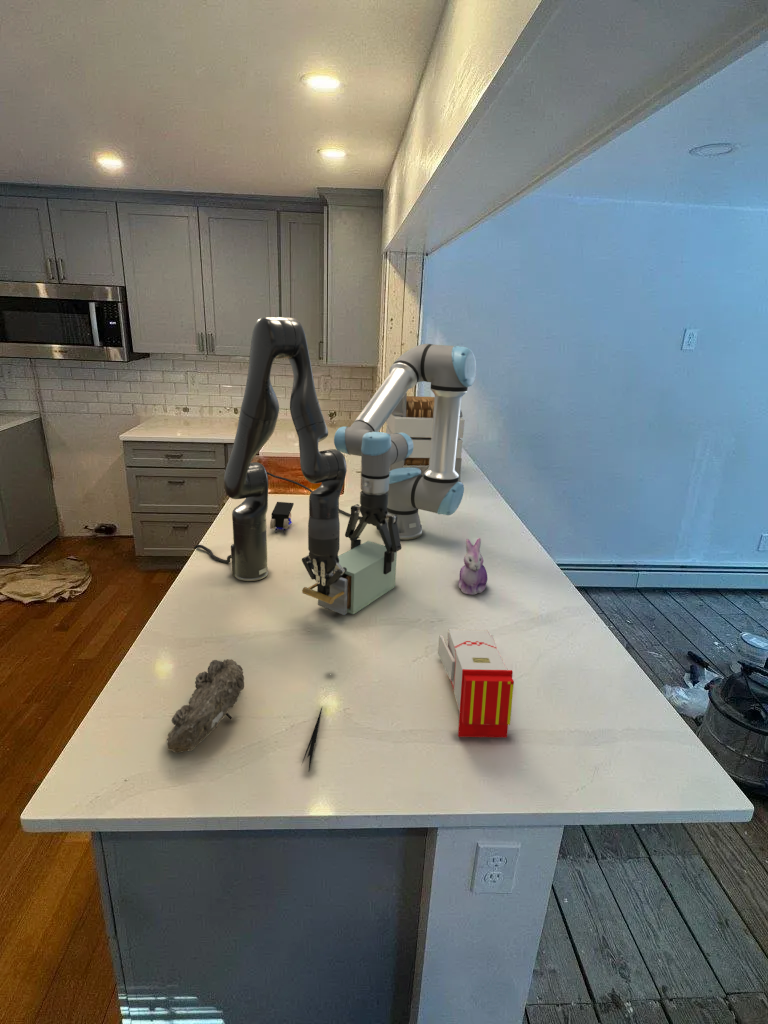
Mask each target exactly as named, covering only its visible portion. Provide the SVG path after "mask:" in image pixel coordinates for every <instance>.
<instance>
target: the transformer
mask: <svg viewBox="0 0 768 1024" xmlns="http://www.w3.org/2000/svg"><path fill="white" fill-rule="evenodd" d="M407 394H408V392H406V394H405V395H404V396H403V398H402V399H401V401H400V402H399V404H398V405H397V406H396V408H395V409H394V411H393V412H392V413H391V415H390V416H389V418H388V419H387V421H386V422H385V424H386V428H385V433H387V434H394V433H405V434H407V435H408V436H410V438H411V439H412V441H413V447H414V448H413V452H412V454H411V455H410V456H409V457H407V458H406V459H404V460H403V461H399V462H397V463H394V464H392V465H390V471H391V470H393V469H397V468H405V466H406V467H409V466H411V467H417V466H418V467H429V459H430V447H431V435H432V423H433V411H434V398H435V396H415V395H414V396H413V395H412V396H411V395H407ZM464 429H465V419H464V418H463V411H462V410H461V411H460V421H459V432H458V442H457V452H456V462H455V471H456V472H457V473H458V475H459V479H458V482H461V472H462V461H463V460H462V453H463V442H464V441H463V440H462V439H463V438H464V431H465V430H464ZM390 471H389V472H390Z"/></svg>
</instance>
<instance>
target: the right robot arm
mask: <svg viewBox="0 0 768 1024" xmlns="http://www.w3.org/2000/svg"><path fill="white" fill-rule="evenodd" d="M476 377H477V362H476V356H475V355H474V352H473V350H472V349H471V348H469V347H466V346H461V345H449V344H448V345H446V344H432V343H423V344H422V343H421V344H418V345H415V346H413V347H411V348H410V349H408V350H407V351H405V352H404V353H402V354H401V355H400V356H399V357H398V358H396V359H395V360H394V362H393V363H392V364H391V366H390V367H389V370H388V375H387V376H386V378H385V379H384V381H383V382H382V384H381V385H380V386H379V388H378V389H377V390H376V392H375V393H374V394H373V396H372V397H371V398H370V400H369V401H368V402H367V404H366V405H365V406H364V408H363V409H362V410H361V412H360V413H359V414H358V416H357V417H356V418H355V420H354V421H353V422H352V423H351V424H350V426H340V427H338V428H337V429H336V431H335V433H334V436H333V445H334V447H335V449H336V450H339V451H340V452H341V453H342V454H346V455H349V456H351V455H352V456H357V457H361V461H360V462H361V463H360V464H361V466H360V468H361V469H360V490H361V491H360V493H359V503H357V504H354V505H351V506H350V513H349V512H346V511H344V510H343V509H341V508H339V513H340V514H343V515H346V516H347V517H349V519H348V523H347V526H346V528H345V532H344V536H345V538H348V539H349V541H350V550H351V549H353V548H355V547H357V546H359V545H361V544H362V540H361V539H360V538H361V537H360V536H361V534H362V533H363V531H364V530H365V528H366V527H367V526H368V525H372V526H374V527H375V528H376V530H378V533H379V534H380V535H379V536H380V538H381V539H382V542H383V545H384V546H385V547H386V549H387V551H385V552H384V573H383V574H387V573H389V572H391V566H392V562H394V553H395V552H397V553H398V552H399V551H400V550H402V543H401V541H410V540H415V539H418V538H420V537H421V536H422V535H423V525H422V524H421V518H420V515H419V510H421V511H426V512H429V513H433V514H434V513H435V514H437V515H443V516H451V515H453V514H454V513H456V511H457V510H458V509H459V507H460V505H461V502H462V500H463V497H464V493H465V492H464V491H465V487H464V486H465V485H464V483H463V482H461V481H460V482H458V479H459V475H458V473H457V472H456V471H455V462H456V452H457V442H458V432H459V421H460V411H461V412H462V401H463V400H462V399H463V396H464V395H466V394H467V393H468V388H470V387H472V386H473V385H474V383H475V379H476ZM422 382H426V383H430V390H431V392H432V393H433V394H434V397H435V398H434V411H433V423H432V435H431V447H430V459H429V465H428V468H427V469H426V470H424V471H423V474H422V470H421V468H419V467H414V466H411V467H409V466H406V467H404V468H397V469H393V470H391V471H390V465H392V464H394V463H397V462H399V461H403V460H404V459H406V458H407V457H409V456H410V455H411V454H412V452H413V448H414V447H413V441H412V439H411V438H410V436H408V435H407V434H405V433H394V434H387V433H386V432H383V431H381V429H382V427H383V426H384V425H385V424H386V421H387V419H388V418H389V416H390V415H391V413H392V412H393V411H394V409H395V408H396V406H397V405H398V404H399V402H400V401H401V399H402V398H403V396H404V395H405V394H406V393H408V392H409V390H410V389H413V388H414V387H416V385H417V384H418V383H422ZM266 472H267V476H270V477H271V478H272V477H273V478H275V479H278V480H283V481H286V482H289V483H292V484H295V485H297V486H299V487H300V488H303V489H305V490H307V491H308V492H309V493H311V492H313V491H314V490H312V489H311V488H309V487H308V486H305V485H304V484H302V483H299V482H297V481H295V480H292V479H289V478H286V477H282V476H278V475H276V474H273V473H270V472H268V471H266ZM360 514H361V516H360ZM359 519H360V520H359ZM358 520H359V522H358ZM357 523H358V524H357Z"/></svg>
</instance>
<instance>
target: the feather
mask: <svg viewBox="0 0 768 1024" xmlns="http://www.w3.org/2000/svg"><path fill="white" fill-rule="evenodd" d="M329 675H330V676H331V675H332V674H331V673H330V674H329ZM322 710H323V707H321V708H320V710H319V713H318V716H317V719H316V723H315V725H314V728H313V731H312V733H311V737H310V739H309V742H308V745H307V748H306V751H305V754H304V757H303V760H302V763H301V767H302V765H303V763H304V761H305V758H308V759H309V760H308V762H307V763H308V764H307V766H308V771H310V770H311V766H312V765H311V764H312V760H313V757H315V756H314V755H315V751H316V749H315V746H317V739H318V733H319V729H320V722H321V717H322V712H323V711H322ZM313 754H314V755H313ZM306 755H307V757H306Z"/></svg>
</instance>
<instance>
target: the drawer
mask: <svg viewBox="0 0 768 1024" xmlns="http://www.w3.org/2000/svg"><path fill="white" fill-rule="evenodd" d="M334 571H335V570H333V574H332V576H333V575H334V574H335V573H334ZM315 588H317V582H316V583H314V584H312V585H310V586H309V587H306V586H304V587H303V588H302V589H301V593H302V594H304V595H306V596H309V597H312V598H314V599H316V600H317V605H318V606H320V607H322V608H325V609H326V610H329V611H333V612H334V613H336V614H340V615H343V616H345V615H347V614H348V612H347V609H348V608H350V607H351V576H350V575H347V574H343V575H342V576H341V578H340V579H339V580H338V581H337V582H336V583H333V584H332V585H330V594H329V595H328V596H327V595H325V594H322V593H320V592H317V591H316V590H314V589H315Z"/></svg>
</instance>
